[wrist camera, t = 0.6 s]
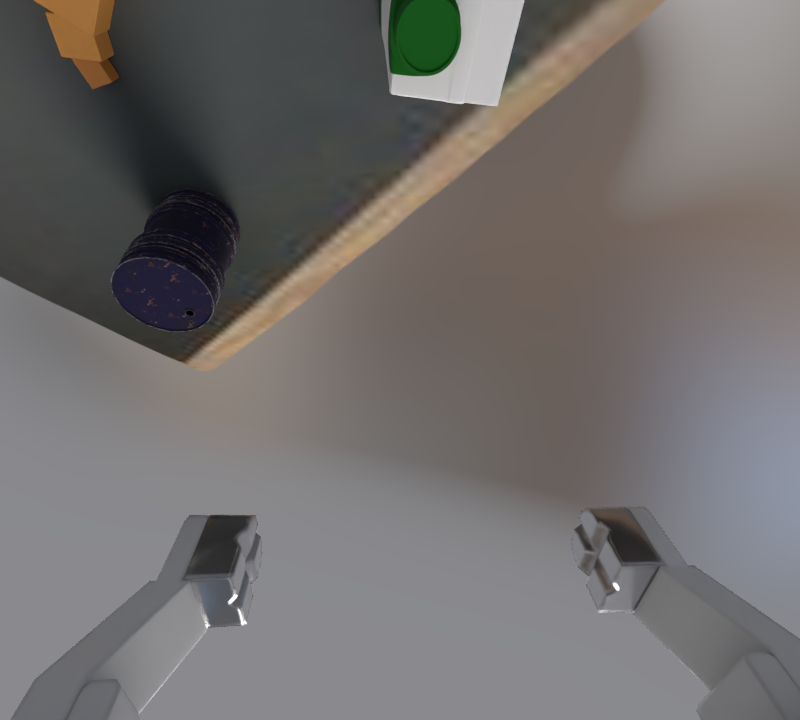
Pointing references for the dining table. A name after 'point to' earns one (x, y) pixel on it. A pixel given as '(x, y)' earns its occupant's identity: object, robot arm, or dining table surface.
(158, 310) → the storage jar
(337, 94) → the dining table surface
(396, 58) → the milk carton
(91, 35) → the orange block cluster
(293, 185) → the dining table surface
